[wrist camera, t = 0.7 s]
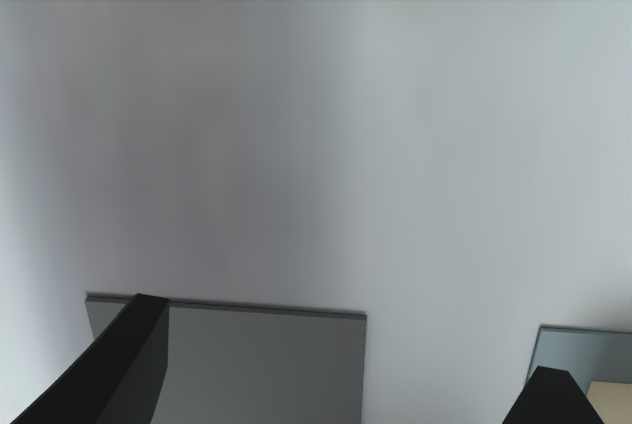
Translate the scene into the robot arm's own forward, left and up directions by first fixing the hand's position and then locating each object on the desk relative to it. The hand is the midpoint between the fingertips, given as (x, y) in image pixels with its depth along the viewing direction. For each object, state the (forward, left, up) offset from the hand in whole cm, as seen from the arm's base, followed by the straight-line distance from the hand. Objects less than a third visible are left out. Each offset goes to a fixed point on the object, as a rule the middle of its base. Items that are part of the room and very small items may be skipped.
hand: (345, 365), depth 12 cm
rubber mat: (-13, +5, -11) cm, 17 cm away
